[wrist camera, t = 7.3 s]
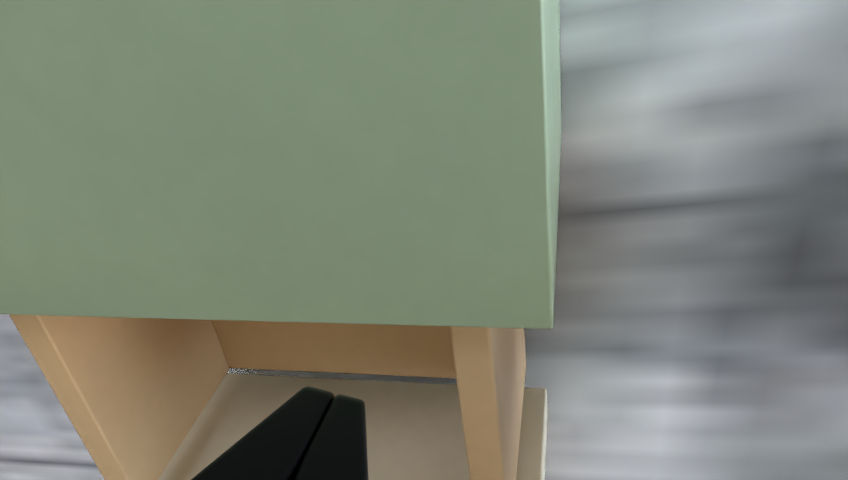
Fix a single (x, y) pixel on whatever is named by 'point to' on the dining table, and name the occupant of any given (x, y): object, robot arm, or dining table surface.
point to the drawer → (291, 392)
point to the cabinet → (281, 160)
